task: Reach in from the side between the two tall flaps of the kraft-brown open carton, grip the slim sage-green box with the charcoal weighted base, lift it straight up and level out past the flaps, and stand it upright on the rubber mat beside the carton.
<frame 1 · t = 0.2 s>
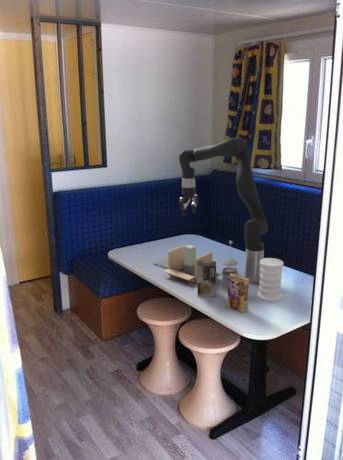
hand: (189, 214, 254), 28 cm above the table, tool pointing down, fingers open, 8 cm apart
candy box: (237, 308, 203), on the table
french press: (230, 288, 224), on the table
coffee box: (206, 294, 218), on the table
carton: (190, 274, 242), on the table
decorative container: (269, 297, 214), on the table
mat: (167, 263, 258), on the table
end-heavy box: (190, 274, 242), resting in carton
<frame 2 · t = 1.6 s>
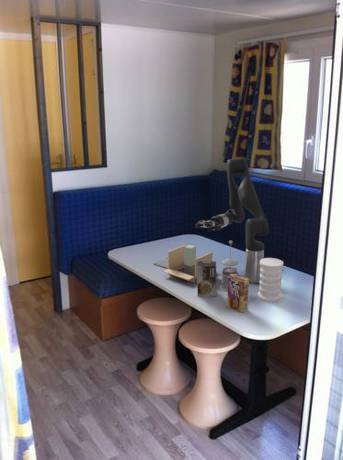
hand: (201, 228, 242), 24 cm above the table, tool horizontal, fingers open, 8 cm apart
nothing on the table moved.
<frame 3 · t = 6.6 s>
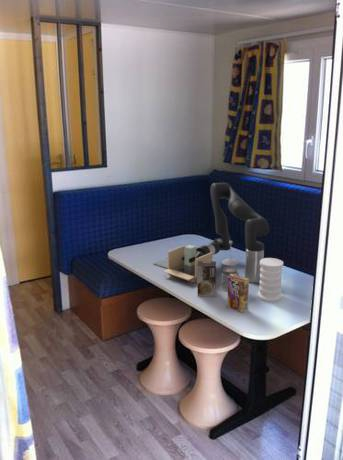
hand: (185, 259, 237), 10 cm above the table, tool horizontal, fingers closed on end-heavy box, 4 cm apart
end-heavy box: (190, 274, 242), resting in carton, touching gripper
everything else where it was.
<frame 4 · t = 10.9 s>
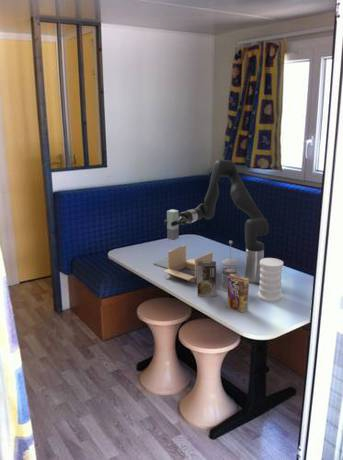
hand: (168, 223, 244), 26 cm above the table, tool horizontal, fingers closed on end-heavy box, 4 cm apart
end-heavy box: (173, 238, 250), point 17 cm above the table, touching gripper
everything else where it was.
when the fingers open (11 cm above the table, at t = 15.0 s): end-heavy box drops 1 cm, resting on mat.
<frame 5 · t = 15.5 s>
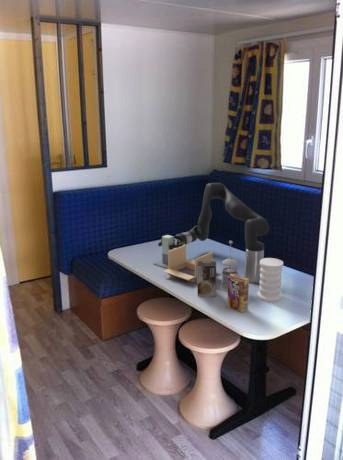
hand: (164, 246, 252), 12 cm above the table, tool horizontal, fingers open, 8 cm apart
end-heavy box: (167, 262, 258), point 1 cm above the table, touching mat
everything else where it was.
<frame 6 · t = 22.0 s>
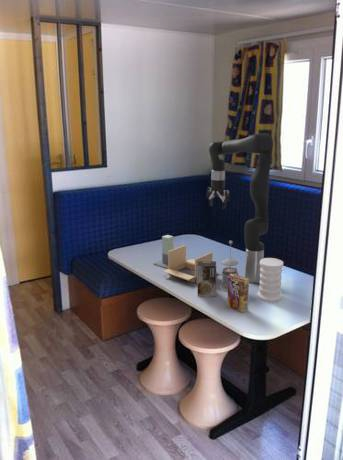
hand: (217, 207, 250), 33 cm above the table, tool pointing down, fingers open, 8 cm apart
nothing on the table moved.
at the end: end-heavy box inside the target area on the mat (0.1 cm from its centre), point 0.6 cm above the mat's base; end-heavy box tilted 0°; the gripper is holding nothing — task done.
